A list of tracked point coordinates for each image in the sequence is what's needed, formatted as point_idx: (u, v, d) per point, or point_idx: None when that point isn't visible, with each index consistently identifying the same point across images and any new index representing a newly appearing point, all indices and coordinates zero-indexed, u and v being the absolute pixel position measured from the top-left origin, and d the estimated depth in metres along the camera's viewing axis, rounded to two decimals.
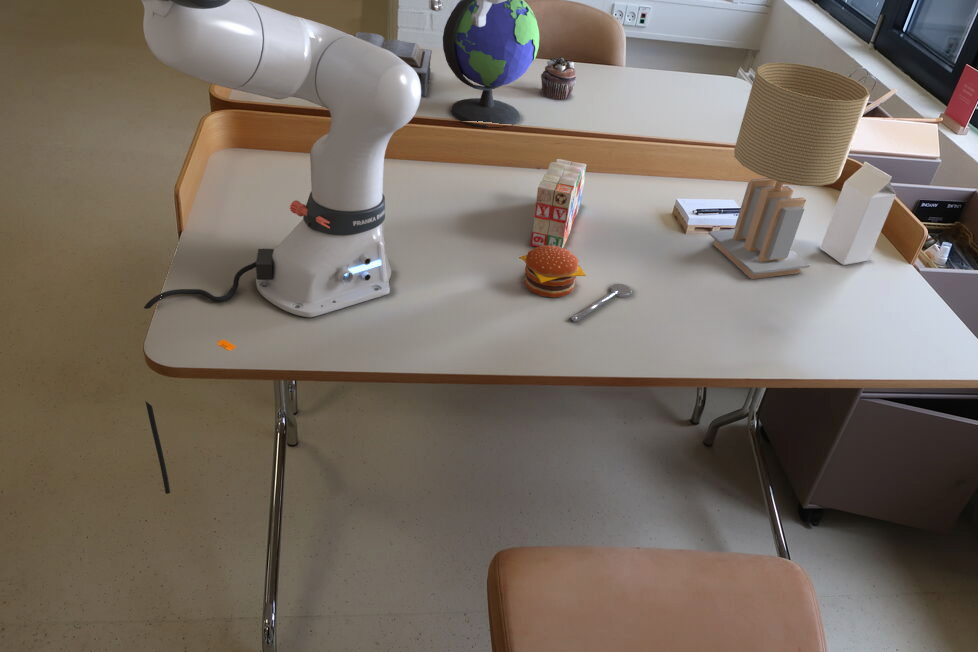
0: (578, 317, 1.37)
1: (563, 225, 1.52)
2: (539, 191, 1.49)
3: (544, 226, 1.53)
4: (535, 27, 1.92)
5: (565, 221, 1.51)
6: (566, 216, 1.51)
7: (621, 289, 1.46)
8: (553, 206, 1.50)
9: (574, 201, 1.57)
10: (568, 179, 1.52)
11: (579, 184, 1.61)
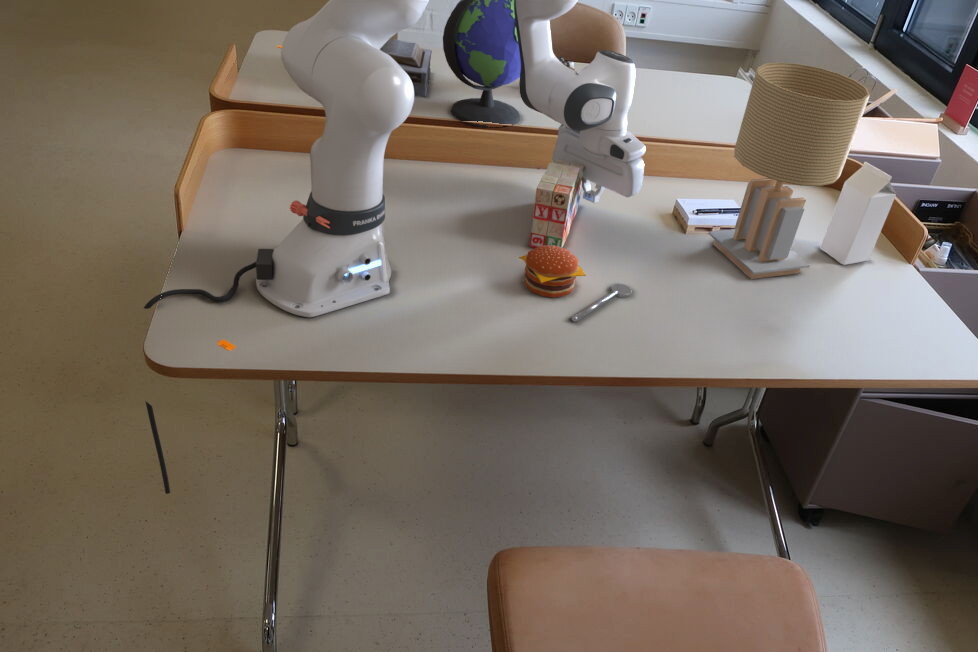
0: (578, 317, 1.37)
1: (562, 226, 1.52)
2: (538, 192, 1.49)
3: (543, 226, 1.52)
4: None
5: (564, 222, 1.51)
6: (565, 217, 1.50)
7: (621, 289, 1.46)
8: (552, 207, 1.50)
9: (573, 202, 1.57)
10: (567, 180, 1.52)
11: (577, 185, 1.61)
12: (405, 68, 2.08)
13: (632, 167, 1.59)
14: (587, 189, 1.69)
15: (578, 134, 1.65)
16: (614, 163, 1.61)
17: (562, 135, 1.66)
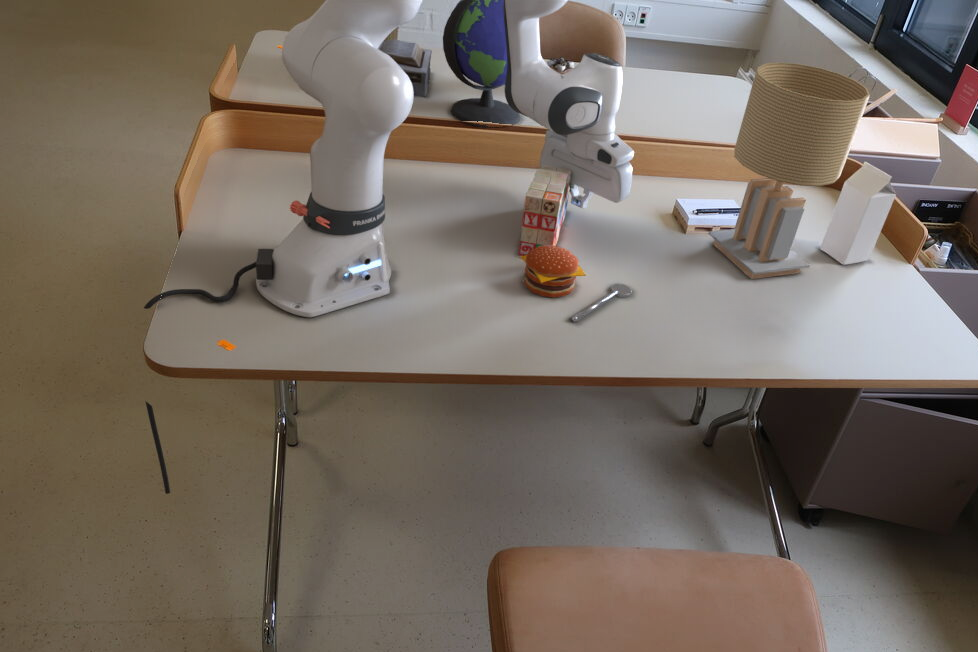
0: (578, 317, 1.37)
1: (552, 234, 1.49)
2: (527, 200, 1.46)
3: (533, 234, 1.49)
4: None
5: (554, 229, 1.48)
6: (555, 224, 1.48)
7: (621, 289, 1.46)
8: (541, 214, 1.47)
9: (562, 208, 1.54)
10: (556, 186, 1.49)
11: (566, 191, 1.58)
12: (405, 68, 2.08)
13: (620, 172, 1.56)
14: (575, 194, 1.67)
15: (565, 138, 1.62)
16: (602, 168, 1.58)
17: (549, 139, 1.63)
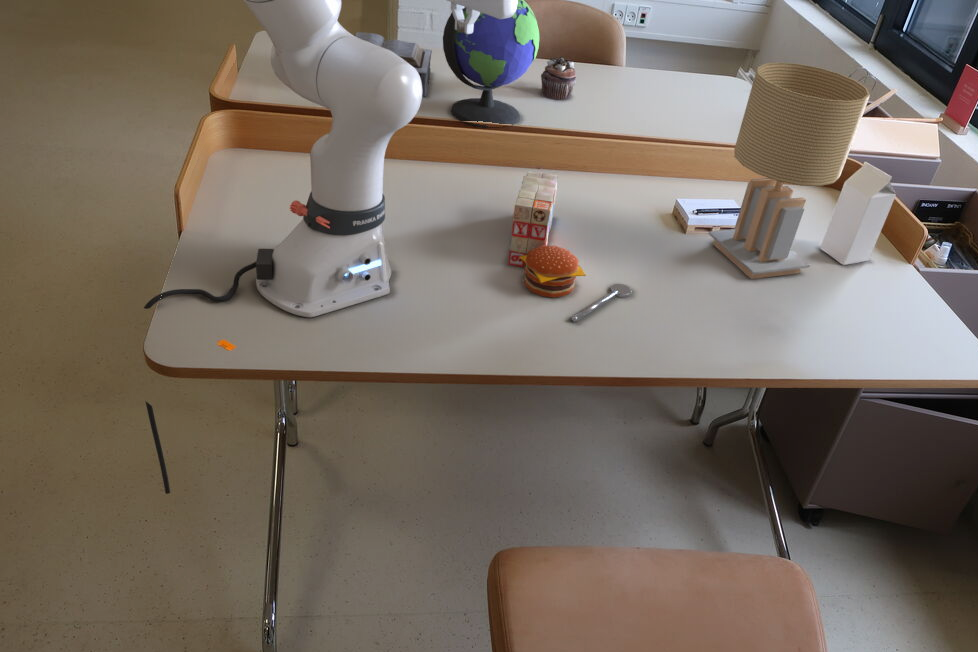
0: (578, 317, 1.37)
1: (542, 243, 1.45)
2: (516, 209, 1.42)
3: (522, 244, 1.46)
4: (535, 27, 1.92)
5: (544, 238, 1.45)
6: (545, 233, 1.44)
7: (621, 289, 1.46)
8: (531, 223, 1.43)
9: None
10: (544, 194, 1.46)
11: None
12: None
13: None
14: (459, 18, 1.46)
15: None
16: None
17: None
